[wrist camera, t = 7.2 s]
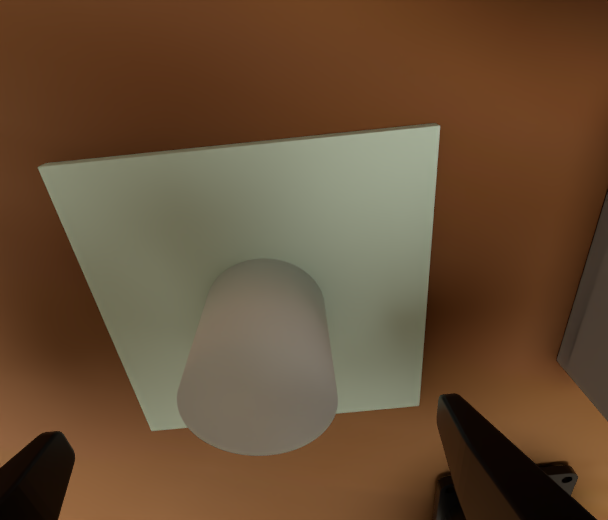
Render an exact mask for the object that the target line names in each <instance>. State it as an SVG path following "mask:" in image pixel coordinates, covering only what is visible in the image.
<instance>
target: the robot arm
mask: <svg viewBox="0 0 608 520" xmlns="http://www.w3.org/2000/svg"><path fill="white" fill-rule="evenodd" d="M437 426H438V430H439V434H440V437H441V441H442V444H443V448H444V451H445V455H446V458H447V462H448V466H449V469H450V473H451V476H446V477H443V478H441V479H440V480H438V482H437V488H436V496H435V504H434V512H433V520H597V519H596V518H595V517H594V516H592V515H591V514H590V513H589V512H588V511H587V510H586V509H585V508H584V507H582V506H581V505H580V504H579V503H578V502H577V501H576V500H575V499H574V498H573V497H571V493H572V491H573V489H574V486H575V484H576V482H577V479H578V476H577V474H576V473H575V471H574V470H573V468H572V467H571V466H568V465H563V466H552V467H541V468H539V467H538V466H537V465H536V464H535V463H534V462H533V461H532V460H531V459H529V458H528V457H527V456H526V455H525V454H524V453H523V452H522V451H521V450H520V449H518V448H517V447H516V446H515V445H514V444H513V443H512V442H511V441H510V440H509V439H507V438H506V437H505V436H504V435H503V434H502V433H501V432H500V431H499V430H497V429H496V428H495V427H494V426H493V425H492V424H491V423H490V422H489V421H488V420H486V419H485V418H484V417H483V416H482V415H481V414H480V413H479V412H478V411H477V410H475V409H474V408H473V407H472V406H471V405H470V404H469V403H468V402H467V401H465V400H464V399H463V398H462V397H461V396H460V395H458V394H455V393H453V394H442V395H440V397H439V400H438V409H437ZM74 462H75V453H74V450H73V449H72V447H71V445H70V444H69V442H68V440H67V439H66V437H65V436H64V434H63V433H62V432H60V431H54V432H45V433H42V434H40V435H39V436H37V437H36V438H35V439H34V440H33V441H31V442H30V443H29V444H28V445H27V446H26V447H24V448H23V449H22V450H21V451H20V452H19V453H17V454H16V455H15V456H14V457H13V458H11V459H10V460H9V461H8V462H7V463H6V464H4V465H3V466H2V467H1V468H0V520H58V518H59V514H60V511H61V507H62V504H63V500H64V497H65V494H66V490H67V487H68V483H69V480H70V476H71V473H72V469H73V466H74Z"/></svg>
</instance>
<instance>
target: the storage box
mask: <svg viewBox="0 0 608 520" xmlns="http://www.w3.org/2000/svg"><path fill="white" fill-rule="evenodd" d="M557 362H558V363H559V364H560V365H561V366H562V368H563V369H564V370H565V371H566V372H567V374H568V375H569V376H570V377H571V378H572V379H573V381H574V382H575V383H576V384H577V385H578V387H579V388H580V389H581V390H582V391H583V393H584V394H585V395H586V396H587V397H588V398H589V400H590V401H591V402H592V403H593V404H594V406H595V407H596V408H597V409H598V410H599V412H600V413H601V414H602V415H603V416H604V417H605V419H606V420H607V421H608V192H607V195H606V199H605V202H604V205H603V209H602V212H601V215H600V218H599V222H598V225H597V228H596V232H595V235H594V238H593V242H592V245H591V248H590V252H589V255H588V258H587V261H586V265H585V268H584V271H583V275H582V278H581V281H580V285H579V288H578V291H577V295H576V298H575V301H574V305H573V308H572V311H571V314H570V318H569V321H568V324H567V328H566V331H565V334H564V338H563V341H562V344H561V348H560V351H559V354H558V357H557Z"/></svg>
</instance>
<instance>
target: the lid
mask: <svg viewBox="0 0 608 520" xmlns="http://www.w3.org/2000/svg"><path fill="white" fill-rule="evenodd" d="M439 136H440V125H438V124H436V123H431V124H421V125H412V126H402V127H392V128H382V129H373V130H363V131H353V132H344V133H334V134H324V135H314V136H305V137H295V138H285V139H276V140H266V141H256V142H247V143H237V144H227V145H217V146H208V147H198V148H188V149H179V150H169V151H159V152H149V153H140V154H130V155H120V156H111V157H101V158H91V159H82V160H72V161H62V162H52V163H45V164H43V165H41V166H39V167H38V169H39V172H40V174H41V176H42V179H43V181H44V183H45V186H46V188H47V190H48V193H49V195H50V197H51V200H52V202H53V204H54V207H55V209H56V211H57V213H58V216H59V218H60V220H61V223H62V225H63V227H64V230H65V232H66V234H67V237H68V239H69V241H70V244H71V246H72V248H73V251H74V253H75V255H76V257H77V260H78V262H79V264H80V267H81V269H82V271H83V274H84V276H85V278H86V281H87V283H88V285H89V288H90V290H91V292H92V295H93V297H94V299H95V301H96V304H97V306H98V308H99V311H100V313H101V315H102V318H103V320H104V322H105V325H106V327H107V329H108V332H109V334H110V336H111V339H112V341H113V343H114V345H115V348H116V350H117V352H118V355H119V357H120V359H121V362H122V364H123V366H124V369H125V371H126V373H127V376H128V378H129V380H130V383H131V385H132V387H133V389H134V392H135V394H136V396H137V399H138V401H139V403H140V406H141V408H142V410H143V413H144V415H145V417H146V420H147V422H148V424H149V427H150V429H151V431H158V430H168V429H179V428H189V429H190V430H191V432H192V433H194V434H195V435H196V436H197V437H198V438H200V439H201V440H203V441H204V442H206V443H208V444H210V445H212V446H214V447H216V448H219V449H221V450H224V451H228V452H231V453H236V454H241V455H250V456H266V455H276V454H281V453H286V452H289V451H292V450H296V449H298V448H300V447H303V446H305V445H307V444H309V443H310V442H312V441H314V440H315V439H316V438H318V437H319V436H320V435H321V434H322V433H323V432H325V430H326V429H327V428H328V427H329V426H330V424H331V422H332V421H333V419H334V417H335V414H338V413H348V412H359V411H369V410H380V409H390V408H401V407H412V406H419V402H420V389H421V375H422V362H423V349H424V336H425V322H426V309H427V296H428V282H429V269H430V256H431V242H432V229H433V216H434V202H435V189H436V176H437V162H438V149H439Z"/></svg>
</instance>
